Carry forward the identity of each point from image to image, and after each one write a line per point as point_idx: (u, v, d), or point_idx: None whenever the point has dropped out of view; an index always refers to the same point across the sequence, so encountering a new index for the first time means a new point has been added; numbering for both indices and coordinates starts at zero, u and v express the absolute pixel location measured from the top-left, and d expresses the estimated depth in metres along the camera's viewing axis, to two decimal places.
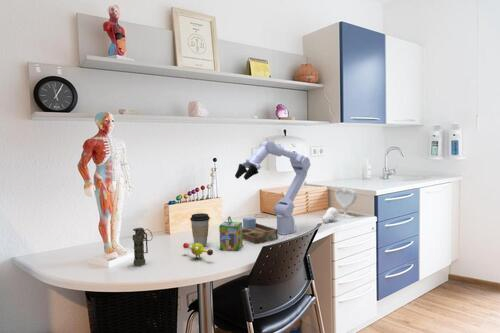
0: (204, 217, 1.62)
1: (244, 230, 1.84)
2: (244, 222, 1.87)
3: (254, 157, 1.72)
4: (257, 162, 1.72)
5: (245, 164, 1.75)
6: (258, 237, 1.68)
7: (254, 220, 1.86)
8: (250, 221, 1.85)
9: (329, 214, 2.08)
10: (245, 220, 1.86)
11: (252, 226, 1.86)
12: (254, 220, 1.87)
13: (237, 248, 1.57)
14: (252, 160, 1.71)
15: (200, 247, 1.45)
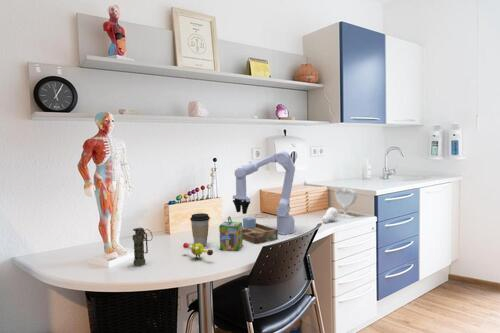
0: (204, 217, 1.62)
1: (244, 230, 1.84)
2: (244, 222, 1.87)
3: (239, 192, 1.90)
4: (244, 193, 1.90)
5: (236, 197, 1.95)
6: (258, 237, 1.68)
7: (254, 220, 1.86)
8: (250, 221, 1.85)
9: (329, 214, 2.08)
10: (245, 220, 1.86)
11: (252, 226, 1.86)
12: (254, 220, 1.87)
13: (237, 248, 1.57)
14: (239, 195, 1.90)
15: (200, 247, 1.45)
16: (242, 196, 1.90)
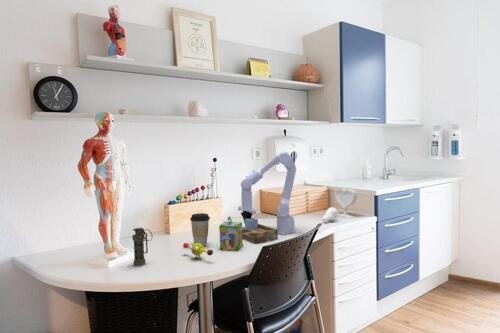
0: (204, 217, 1.62)
1: (244, 230, 1.84)
2: (246, 223, 1.85)
3: (244, 203, 1.86)
4: (249, 205, 1.86)
5: (241, 209, 1.91)
6: (258, 237, 1.68)
7: (256, 221, 1.85)
8: (252, 222, 1.83)
9: (329, 214, 2.08)
10: (247, 221, 1.84)
11: (254, 226, 1.84)
12: (257, 220, 1.85)
13: (237, 248, 1.57)
14: (245, 207, 1.86)
15: (200, 247, 1.45)
16: (248, 208, 1.86)
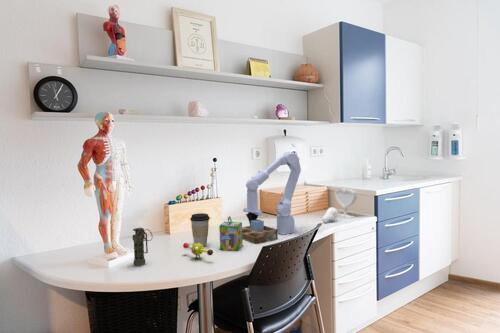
0: (204, 217, 1.62)
1: (244, 230, 1.84)
2: (252, 224, 1.81)
3: (250, 205, 1.82)
4: (255, 206, 1.82)
5: (247, 210, 1.87)
6: (258, 237, 1.68)
7: (262, 222, 1.81)
8: (258, 223, 1.79)
9: (329, 214, 2.08)
10: (253, 222, 1.80)
11: (260, 228, 1.80)
12: (262, 222, 1.81)
13: (237, 248, 1.57)
14: (250, 208, 1.82)
15: (200, 247, 1.45)
16: (253, 209, 1.82)
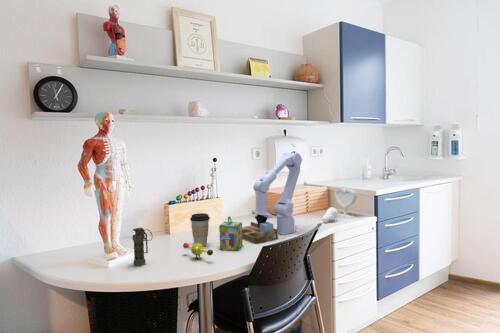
0: (204, 217, 1.62)
1: (244, 230, 1.84)
2: (261, 227, 1.75)
3: (259, 207, 1.75)
4: (264, 209, 1.76)
5: None
6: (258, 237, 1.68)
7: (272, 225, 1.74)
8: (267, 226, 1.72)
9: (329, 214, 2.08)
10: (262, 225, 1.74)
11: None
12: (272, 225, 1.74)
13: (237, 248, 1.57)
14: (260, 211, 1.75)
15: (200, 247, 1.45)
16: (263, 212, 1.75)
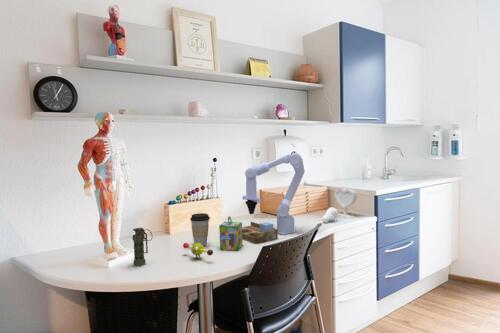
0: (204, 217, 1.62)
1: (244, 230, 1.84)
2: (261, 227, 1.75)
3: (249, 192, 1.87)
4: (254, 194, 1.87)
5: (246, 198, 1.92)
6: (258, 237, 1.68)
7: (272, 225, 1.74)
8: (267, 226, 1.72)
9: (329, 214, 2.08)
10: (262, 225, 1.74)
11: None
12: (272, 225, 1.74)
13: (237, 248, 1.57)
14: (249, 196, 1.87)
15: (200, 247, 1.45)
16: (252, 197, 1.87)
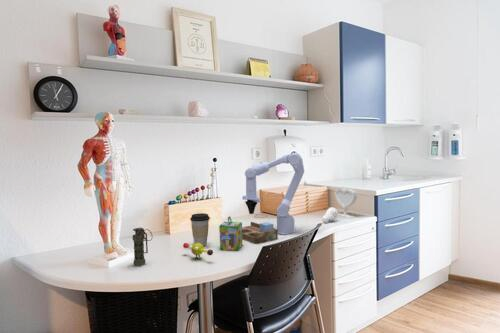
0: (204, 217, 1.62)
1: (244, 230, 1.84)
2: (261, 227, 1.75)
3: (249, 192, 1.87)
4: (254, 194, 1.88)
5: (246, 198, 1.93)
6: (258, 237, 1.68)
7: (272, 225, 1.74)
8: (267, 226, 1.72)
9: (329, 214, 2.08)
10: (262, 225, 1.74)
11: None
12: (272, 225, 1.74)
13: (237, 248, 1.57)
14: (249, 196, 1.87)
15: (200, 247, 1.45)
16: (252, 197, 1.87)
